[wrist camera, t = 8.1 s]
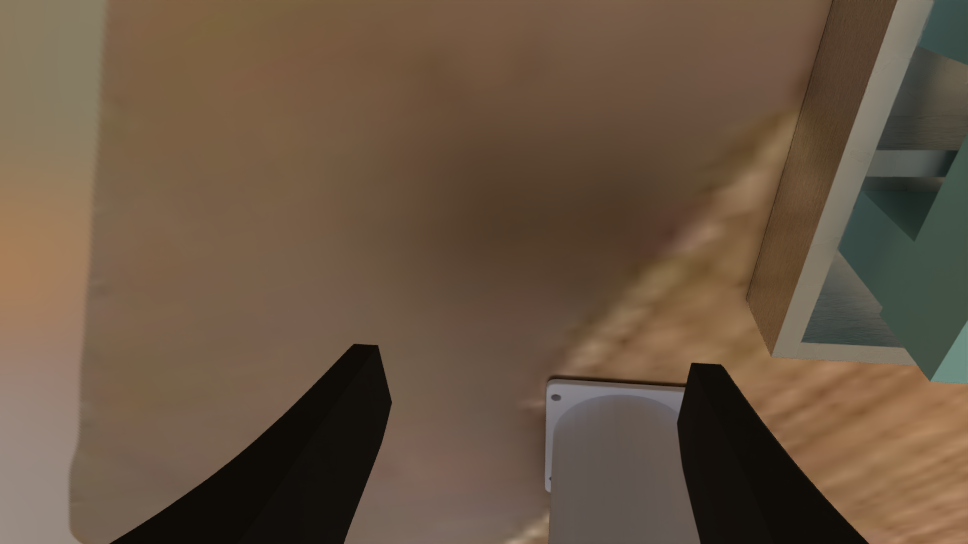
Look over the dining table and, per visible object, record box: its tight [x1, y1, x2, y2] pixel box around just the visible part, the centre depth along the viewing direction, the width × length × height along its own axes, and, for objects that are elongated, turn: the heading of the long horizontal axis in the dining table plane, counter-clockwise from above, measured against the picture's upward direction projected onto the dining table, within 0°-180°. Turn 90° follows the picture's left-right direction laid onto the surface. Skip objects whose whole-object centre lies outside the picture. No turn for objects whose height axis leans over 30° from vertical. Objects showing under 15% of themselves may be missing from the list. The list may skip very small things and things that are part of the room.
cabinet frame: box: [746, 0, 968, 365], centre depth 16 cm, size 15×8×4 cm, turn 3°
